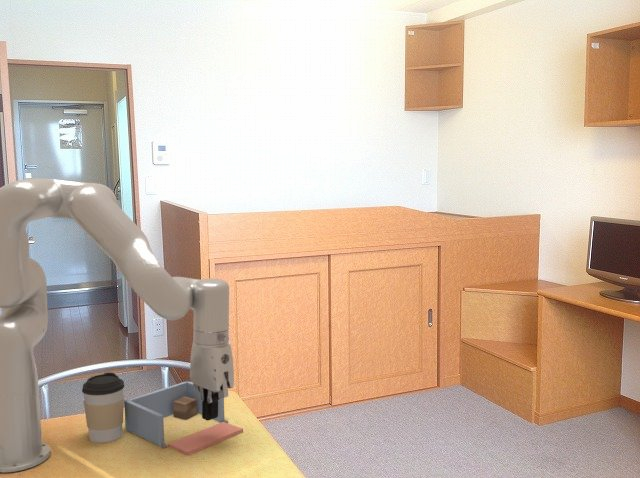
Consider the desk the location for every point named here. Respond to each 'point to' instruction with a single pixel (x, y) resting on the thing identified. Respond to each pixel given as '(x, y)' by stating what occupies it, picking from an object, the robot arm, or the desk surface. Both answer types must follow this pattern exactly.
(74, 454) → the desk surface
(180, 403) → the cargo block
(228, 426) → the tailgate
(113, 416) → the coffee cup
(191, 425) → the desk surface
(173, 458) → the desk surface
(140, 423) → the tray
